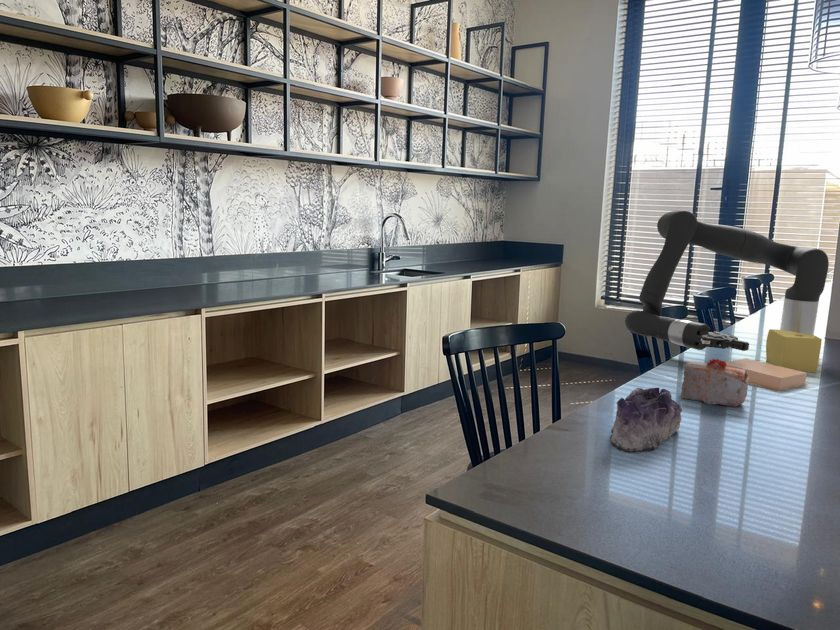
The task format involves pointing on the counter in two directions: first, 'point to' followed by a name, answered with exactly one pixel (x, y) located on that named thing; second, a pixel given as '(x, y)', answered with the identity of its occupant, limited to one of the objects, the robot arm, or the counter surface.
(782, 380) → the tile
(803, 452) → the counter surface
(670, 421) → the geode
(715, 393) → the food item
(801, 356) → the cheese
